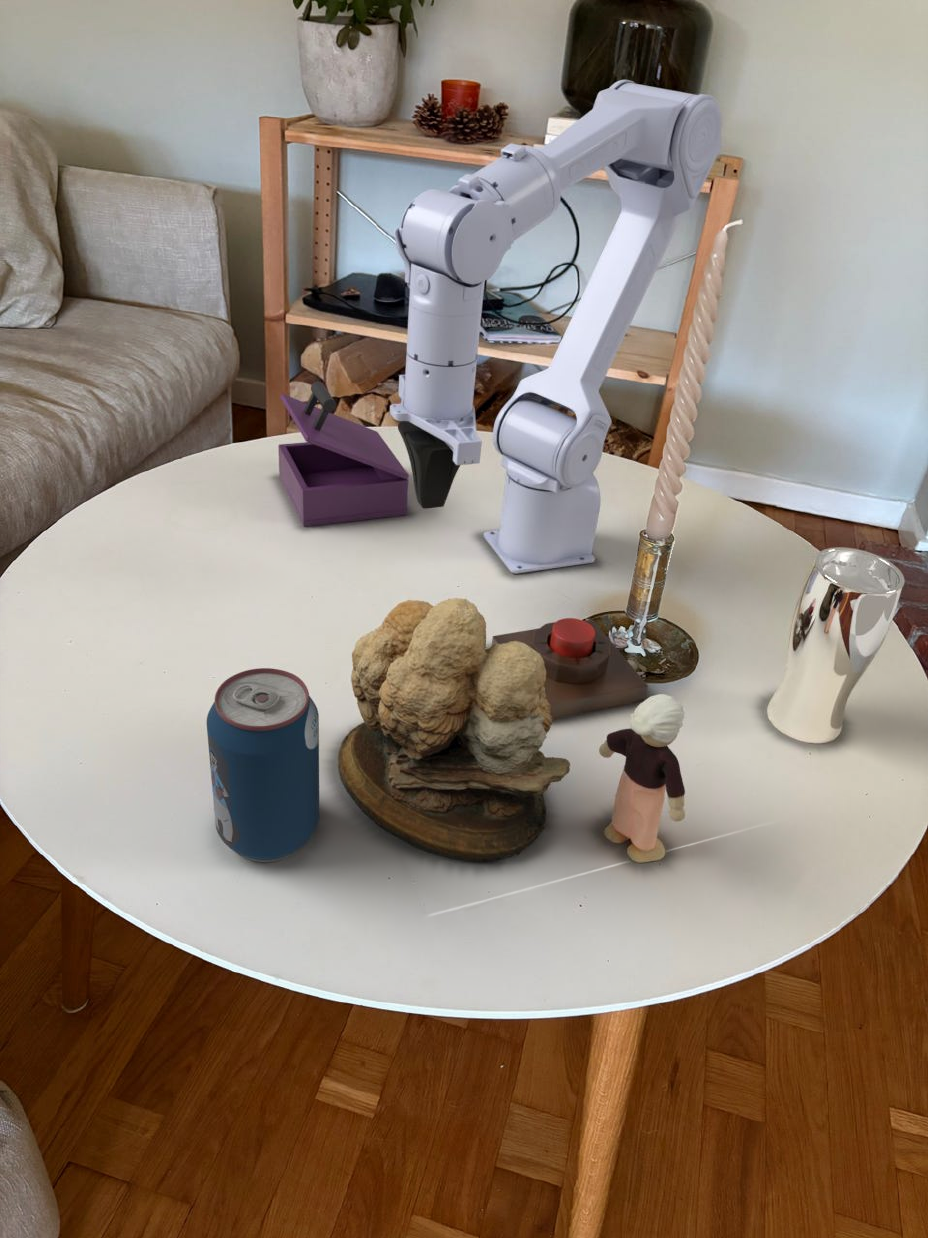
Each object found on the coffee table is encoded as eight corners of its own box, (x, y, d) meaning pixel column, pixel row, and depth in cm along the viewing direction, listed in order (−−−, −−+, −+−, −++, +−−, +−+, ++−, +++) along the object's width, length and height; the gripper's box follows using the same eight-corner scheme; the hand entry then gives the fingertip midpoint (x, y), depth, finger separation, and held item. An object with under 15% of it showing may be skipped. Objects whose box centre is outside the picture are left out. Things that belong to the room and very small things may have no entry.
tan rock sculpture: (589, 802, 71) (632, 612, 61) (504, 904, 62) (537, 704, 53) (397, 700, 78) (407, 517, 69) (298, 780, 70) (293, 584, 60)
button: (579, 631, 83) (583, 614, 82) (599, 655, 81) (603, 638, 80) (542, 637, 82) (545, 621, 81) (561, 662, 79) (564, 645, 78)
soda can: (336, 813, 68) (338, 680, 61) (287, 884, 62) (283, 747, 56) (251, 782, 69) (243, 650, 63) (196, 849, 64) (181, 712, 57)
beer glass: (853, 714, 82) (914, 565, 73) (835, 760, 77) (899, 605, 68) (773, 683, 85) (824, 536, 76) (751, 726, 79) (802, 573, 71)
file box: (303, 526, 100) (302, 491, 98) (279, 478, 109) (278, 444, 106) (406, 515, 104) (408, 480, 102) (375, 468, 113) (376, 435, 110)
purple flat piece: (305, 441, 95) (323, 405, 93) (279, 397, 103) (296, 363, 102) (407, 479, 102) (425, 446, 100) (375, 435, 110) (391, 404, 109)
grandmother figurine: (688, 851, 68) (731, 715, 60) (659, 882, 65) (701, 743, 58) (599, 794, 71) (630, 659, 64) (569, 821, 69) (597, 684, 62)
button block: (589, 634, 88) (595, 602, 87) (644, 701, 81) (652, 668, 79) (490, 651, 85) (494, 618, 83) (538, 722, 78) (543, 689, 76)
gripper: (367, 326, 81) (363, 472, 89) (425, 391, 70) (414, 550, 78) (445, 323, 84) (434, 465, 91) (512, 385, 73) (494, 540, 80)
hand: (430, 504), depth 85 cm, fingers closed
